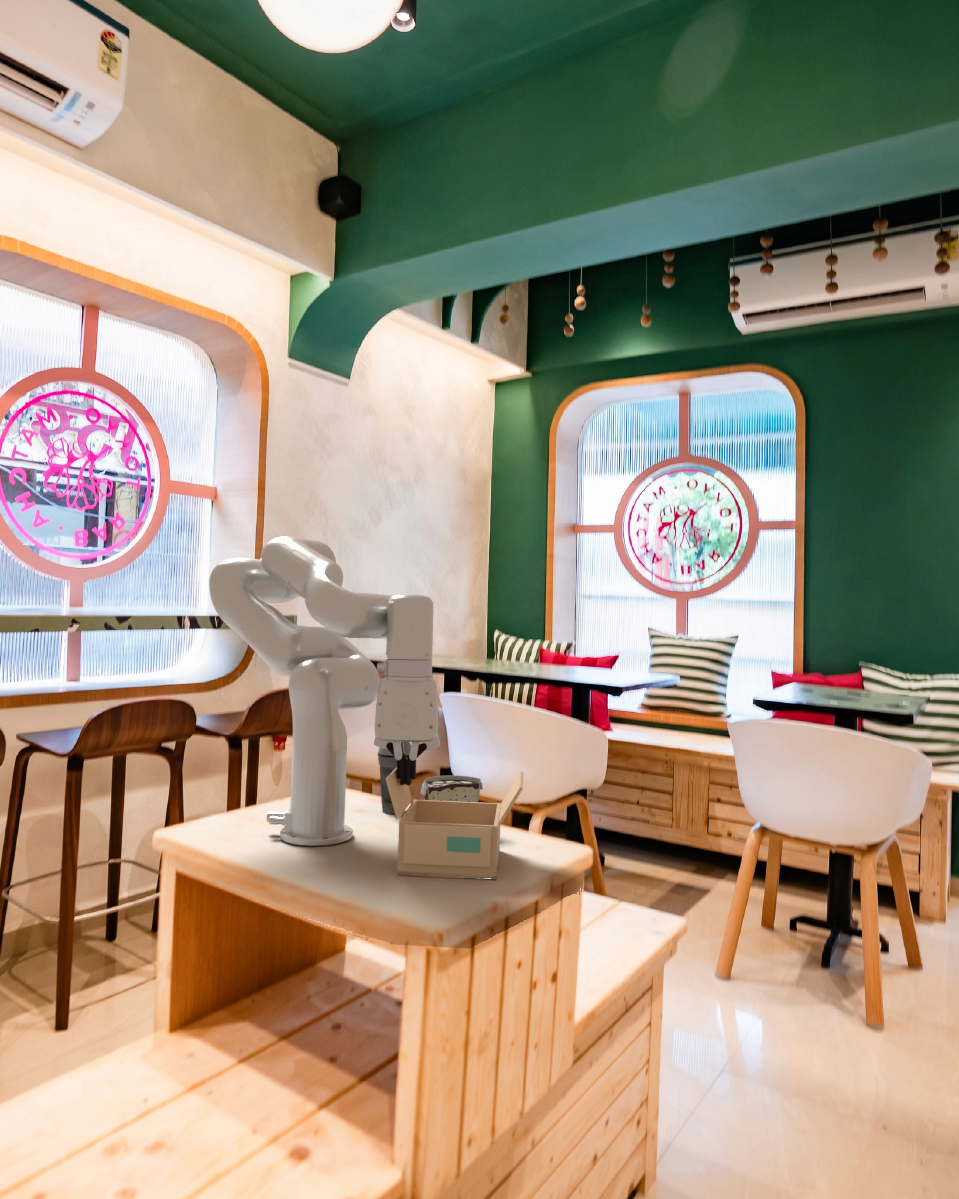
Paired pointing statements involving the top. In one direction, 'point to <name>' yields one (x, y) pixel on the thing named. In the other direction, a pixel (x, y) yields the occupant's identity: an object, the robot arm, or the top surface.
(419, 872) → the carton
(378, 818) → the top surface
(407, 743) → the beverage cup
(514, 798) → the right flap
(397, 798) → the left flap
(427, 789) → the food container
